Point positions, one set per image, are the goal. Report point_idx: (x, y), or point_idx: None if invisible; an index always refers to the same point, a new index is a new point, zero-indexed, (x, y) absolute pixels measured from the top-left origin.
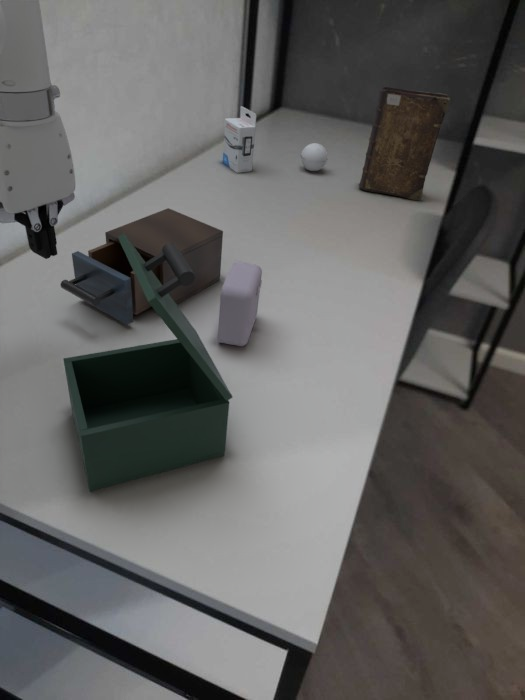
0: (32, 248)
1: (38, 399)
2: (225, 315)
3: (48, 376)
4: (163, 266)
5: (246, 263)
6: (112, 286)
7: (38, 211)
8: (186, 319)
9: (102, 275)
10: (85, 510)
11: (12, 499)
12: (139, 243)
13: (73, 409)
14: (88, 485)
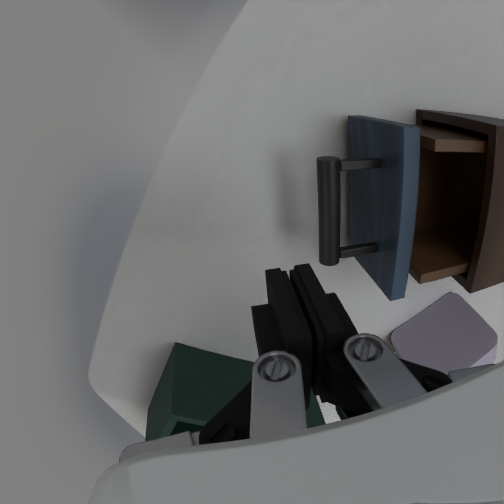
0: (253, 321)
1: (150, 302)
2: None
3: (181, 271)
4: (462, 285)
5: (492, 357)
6: (380, 252)
7: (356, 385)
8: None
9: (390, 231)
10: (139, 415)
11: (91, 383)
12: (497, 217)
13: (158, 416)
14: (148, 410)
